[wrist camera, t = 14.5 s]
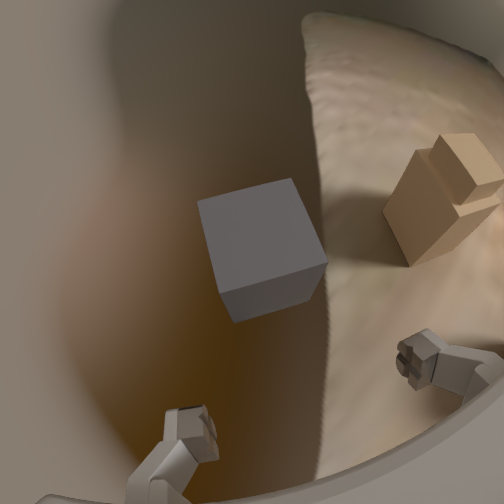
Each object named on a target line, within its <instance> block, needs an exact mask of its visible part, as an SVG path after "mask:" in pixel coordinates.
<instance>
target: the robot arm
mask: <svg viewBox="0 0 504 504" xmlns="http://www.w3.org/2000/svg"><path fill="white" fill-rule="evenodd" d="M397 350H398V351H399V354H398V355H397V357H396V365H397V369H398V371H399V373H400V374H401V375H402V376H404V377H407V378H408V383H409V384H410V385H411V386H412V388H413V389H414V390H415V391H418V390H419V389H421V388H423V387H425V386H427V385H429V384H432V385H435V386H437V387H440V388H443V389H445V390H448V391H451V392H453V393H456V394H459V395H461V396H464V398H463V401H462V403H461V407H460V408H459V409H457V410H456V411H455V412H453V413H452V414H450V415H449V416H447V417H446V418H444V419H443V420H441V421H440V422H438V423H437V424H435V425H433V426H432V427H430V428H429V429H427V430H425V431H424V432H422V433H420V434H419V435H417V436H415V437H413V438H412V439H410V440H408V441H406V442H404V443H402V444H401V445H399V446H397V447H395V448H393V449H391V450H389V451H387V452H385V453H383V454H381V455H379V456H376V457H374V458H372V459H370V460H368V461H365V462H363V463H361V464H358V465H356V466H353V467H351V468H349V469H346V470H343V471H341V472H338V473H336V474H333V475H330V476H327V477H324V478H321V479H318V480H315V481H312V482H309V483H306V484H303V485H299V486H296V487H292V488H288V489H284V490H281V491H276V492H273V493H268V494H263V495H258V496H254V497H248V498H243V499H236V500H230V501H223V502H214V503H205V504H504V359H502V358H501V357H500V356H499V355H497V354H496V353H495V352H490V351H485V350H479V349H473V348H468V347H463V346H457V345H450V346H449V345H448V344H447V343H446V342H445V341H443V340H442V339H441V338H440V337H439V336H437V335H436V334H435V333H434V332H432V331H431V330H430V329H428V328H426V329H424V330H422V331H420V332H418V333H416V334H414V335H412V336H410V337H408V338H406V339H404V340H402V341H400V342H399V343H398V346H397ZM216 438H217V435H216V430H215V426H214V423H213V420H212V418H211V417H210V416H208V413H207V409H206V407H205V405H197V406H191V407H184V408H179V409H170V410H167V411H166V413H165V423H164V436H163V441H161V442H159V443H158V444H157V445H156V447H155V448H154V449H153V450H152V451H151V453H150V454H149V455H148V456H147V457H146V459H145V460H144V461H143V462H142V463H141V464H140V466H139V467H138V468H137V469H136V470H135V471H134V473H133V474H132V475H131V476H130V477H129V478H128V481H127V489H126V498H125V499H126V500H125V504H191V503H190V502H189V501H188V500H186V499H185V498H184V497H183V496H182V495H181V494H182V492H183V491H184V489H185V487H186V486H187V484H188V482H189V480H190V479H191V477H192V475H193V473H194V471H195V470H196V468H197V466H198V463H201V462H207V461H213V460H219V454H218V446H217V445H216V443H215V440H216ZM36 504H110V503H100V502H93V501H86V500H80V499H74V498H69V497H64V496H59V495H53V494H49V495H46V496H44V497H43V498H42V499H40V500H39V501H38V502H37V503H36Z"/></svg>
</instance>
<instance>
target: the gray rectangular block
mask: <svg viewBox="0 0 504 504" xmlns="http://www.w3.org/2000/svg"><path fill="white" fill-rule="evenodd" d="M197 203H198V207H199V212H200V217H201V221H202V225H203V230H204V234H205V237H206V242H207V247H208V250H209V255H210V259H211V263H212V267H213V271H214V275H215V279H216V283H217V287H218V291H219V294H220V296H221V298H222V300H223V303H224V305H225V307H226V309H227V311H228V313H229V315H230V317H231V319H232V321H233V322H234V323H236V322H239V321H243V320H247V319H250V318H253V317H257V316H260V315H264V314H267V313H270V312H274V311H277V310H281V309H284V308H287V307H291V306H294V305H297V304H300V303H303V302H306V301H309V299H310V297H311V295H312V294H313V292H314V290H315V288H316V286H317V284H318V282H319V280H320V278H321V276H322V274H323V272H324V270H325V268H326V266H327V264H328V262H329V261H328V259H327V257H326V254H325V252H324V250H323V247H322V245H321V243H320V240H319V238H318V236H317V233H316V231H315V229H314V227H313V224H312V222H311V220H310V218H309V216H308V213H307V211H306V209H305V207H304V205H303V203H302V200H301V198H300V196H299V194H298V192H297V190H296V188H295V185H294V183H293V181H292V179H291V178H289V179H284V180H280V181H276V182H271V183H267V184H263V185H258V186H254V187H250V188H246V189H242V190H238V191H234V192H230V193H226V194H223V195H219V196H215V197H211V198H208V199H204V200H201V201H197Z"/></svg>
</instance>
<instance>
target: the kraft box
mask: <svg viewBox="0 0 504 504" xmlns="http://www.w3.org/2000/svg"><path fill="white" fill-rule="evenodd" d="M503 183H504V173H503V171H502V170H501V169H500V167H499V166H498V164H497V163H496V161H495V160H494V159H493V157H492V156H491V155H490V153H489V152H488V151H487V149H486V148H485V147H484V145H483V144H482V143H481V142H480V140H479V139H478V138H477V137H476V136H475V134H474V133H463V134H440V135H439V137H438V139H437V141H436V143H435V144H434V146H433V148H429V149H420V150H415V152H414V154H413V156H412V158H411V160H410V162H409V164H408V166H407V168H406V170H405V171H404V173H403V175H402V177H401V179H400V181H399V182H398V184H397V186H396V188H395V190H394V191H393V193H392V195H391V197H390V199H389V200H388V202H387V204H386V205H385V207H384V209H383V211H382V213H383V214H384V216H385V218H386V220H387V222H388V224H389V226H390V228H391V230H392V231H393V233H394V235H395V237H396V239H397V241H398V243H399V245H400V248H401V250H402V252H403V254H404V256H405V258H406V260H407V262H408V264H409V267H412V266H415V265H417V264H420V263H422V262H425V261H427V260H430V259H432V258H435V257H437V256H440V255H442V254H445V253H447V252H449V251H452V250H453V249H454V248H455V247H457V246H458V245H459V244H460V243H461V242H462V241H463V240H464V239H465V238H466V237H467V236H468V235H470V234H471V233H472V232H473V231H474V230H475V229H476V228H477V227H478V226H479V225H480V224H481V223H482V222H483V221H484V220H485V219H486V218H487V217H488V216H489V215H490V214H491V213H492V212H493V211H494V210H495V209H496V208H497V207H498V205H499V204H500V203H501V202H500V200H499V199H498V197H497V195H496V194H495V192H496V191H497V190H498V189H499V188H500V186H501V185H502V184H503Z"/></svg>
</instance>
